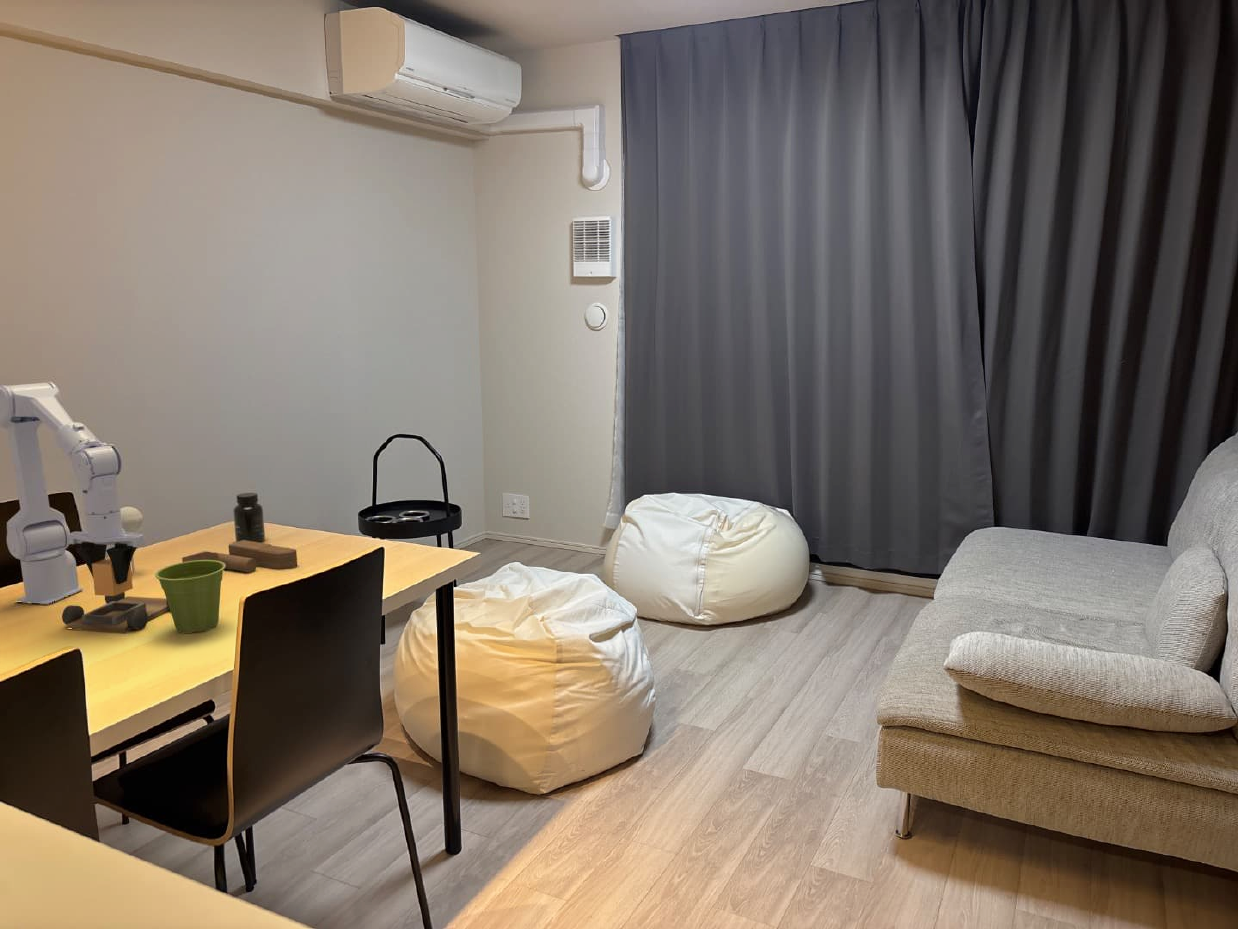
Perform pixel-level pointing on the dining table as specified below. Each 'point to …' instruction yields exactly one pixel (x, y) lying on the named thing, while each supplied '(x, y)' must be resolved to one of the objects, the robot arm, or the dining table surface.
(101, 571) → the tan wooden cube
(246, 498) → the supplement bottle
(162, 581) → the plant pot
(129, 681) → the dining table surface
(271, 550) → the wooden block set
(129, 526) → the lollipop
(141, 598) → the chassis board
